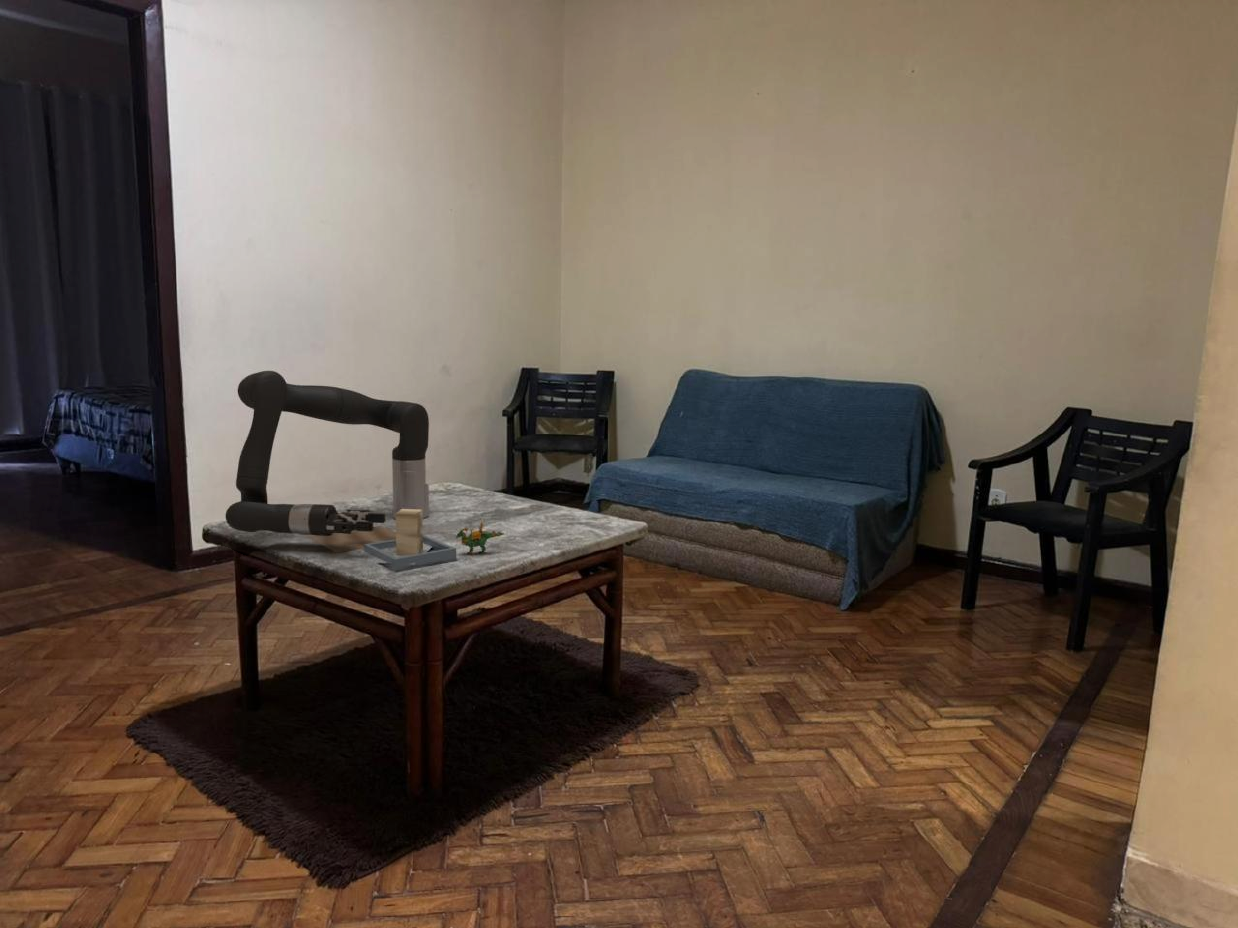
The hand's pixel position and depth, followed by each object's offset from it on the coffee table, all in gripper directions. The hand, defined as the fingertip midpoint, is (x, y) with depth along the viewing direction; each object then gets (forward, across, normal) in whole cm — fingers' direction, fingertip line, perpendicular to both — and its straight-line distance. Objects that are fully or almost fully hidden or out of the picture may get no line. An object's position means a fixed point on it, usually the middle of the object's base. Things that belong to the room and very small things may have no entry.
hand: (379, 522), depth 209 cm
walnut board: (-9, +11, +9) cm, 16 cm away
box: (+8, 0, +9) cm, 11 cm away
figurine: (+23, +7, +9) cm, 26 cm away
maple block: (+7, 0, +8) cm, 11 cm away
